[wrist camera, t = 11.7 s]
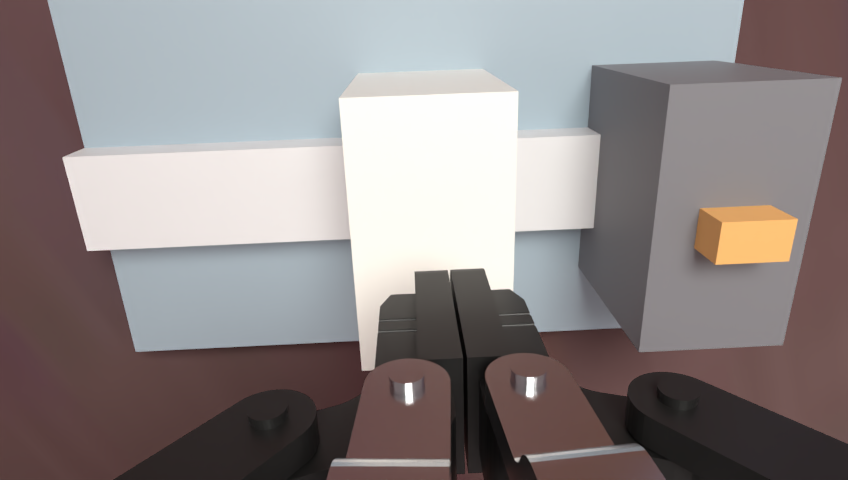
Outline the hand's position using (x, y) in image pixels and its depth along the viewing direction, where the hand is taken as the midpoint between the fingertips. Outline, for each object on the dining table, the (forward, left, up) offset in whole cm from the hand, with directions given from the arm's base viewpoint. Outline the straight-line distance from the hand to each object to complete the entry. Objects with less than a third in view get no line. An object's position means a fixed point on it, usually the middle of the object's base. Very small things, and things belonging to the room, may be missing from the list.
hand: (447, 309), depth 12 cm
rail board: (0, -1, -12) cm, 12 cm away
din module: (0, 0, -10) cm, 10 cm away
